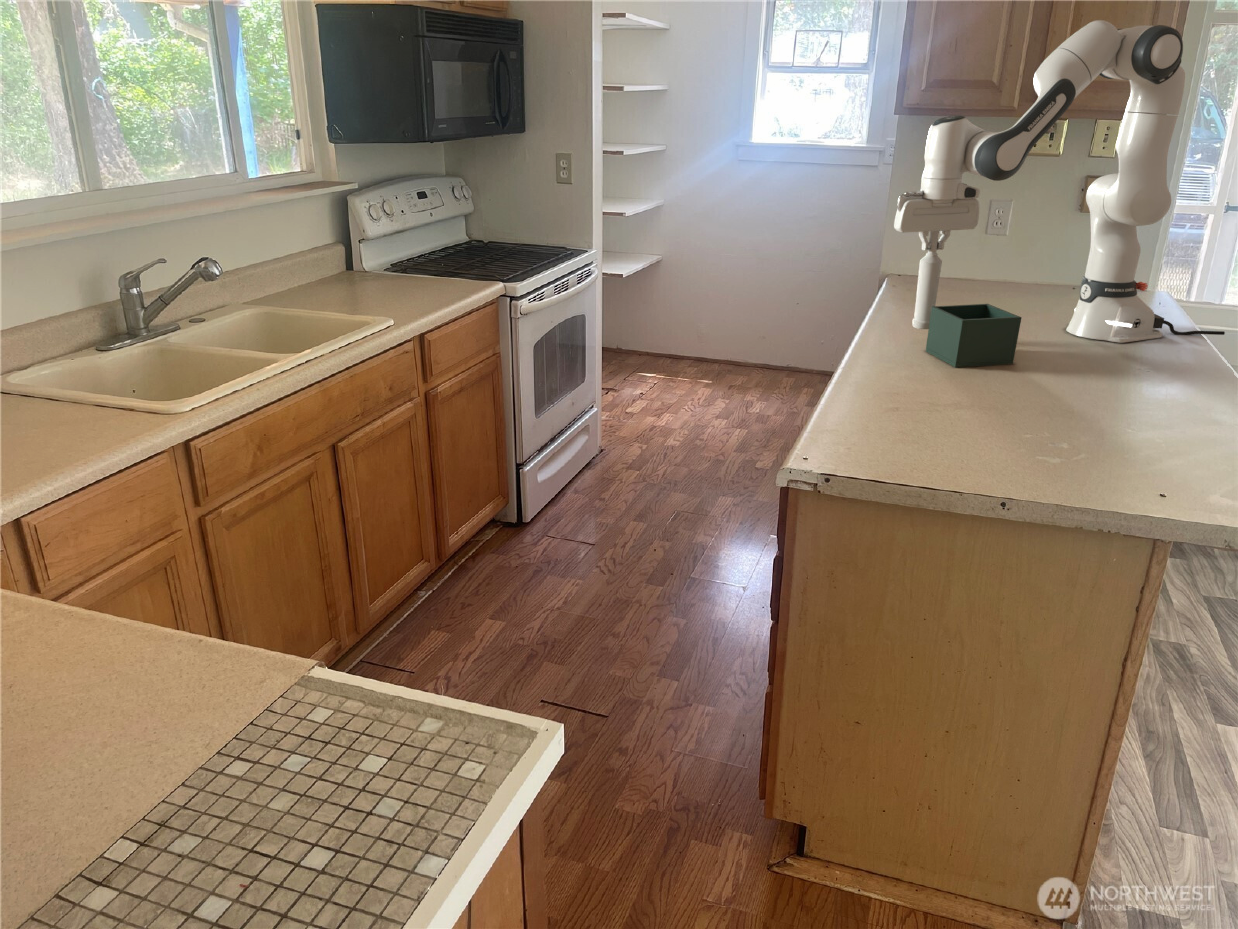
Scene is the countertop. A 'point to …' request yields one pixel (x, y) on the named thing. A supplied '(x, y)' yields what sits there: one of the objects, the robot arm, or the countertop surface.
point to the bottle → (927, 284)
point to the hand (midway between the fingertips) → (932, 249)
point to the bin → (973, 335)
